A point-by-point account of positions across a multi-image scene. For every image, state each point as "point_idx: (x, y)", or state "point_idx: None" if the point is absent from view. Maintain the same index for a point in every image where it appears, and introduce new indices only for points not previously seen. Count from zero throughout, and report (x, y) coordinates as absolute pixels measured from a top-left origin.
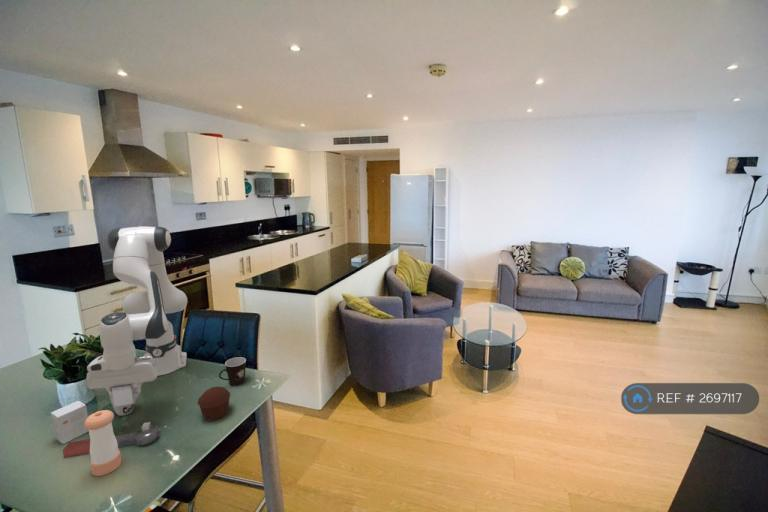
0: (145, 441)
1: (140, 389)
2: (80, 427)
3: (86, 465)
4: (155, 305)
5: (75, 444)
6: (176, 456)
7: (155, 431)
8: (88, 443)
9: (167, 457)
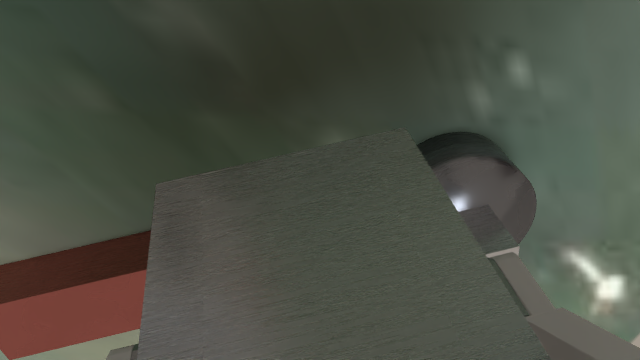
0: None
1: (529, 285)
2: None
3: None
4: None
5: (44, 322)
6: (611, 284)
7: (519, 221)
8: (131, 311)
9: (574, 290)
